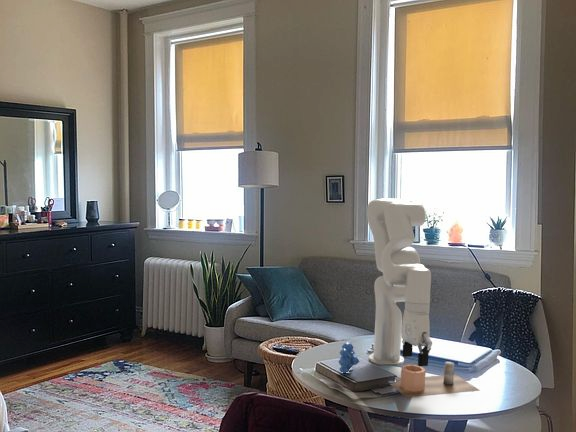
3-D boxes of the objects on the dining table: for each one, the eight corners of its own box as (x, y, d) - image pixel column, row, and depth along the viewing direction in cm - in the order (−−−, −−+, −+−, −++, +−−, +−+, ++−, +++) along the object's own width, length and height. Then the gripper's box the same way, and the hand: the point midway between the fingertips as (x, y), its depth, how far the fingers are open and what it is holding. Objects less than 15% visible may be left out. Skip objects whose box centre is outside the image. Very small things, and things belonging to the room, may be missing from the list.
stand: (385, 384, 191) (386, 360, 190) (454, 378, 198) (456, 354, 198) (406, 402, 177) (407, 375, 177) (479, 394, 185) (481, 369, 184)
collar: (397, 383, 188) (398, 365, 187) (416, 382, 190) (417, 364, 189) (408, 392, 181) (409, 373, 181) (428, 390, 183) (429, 371, 183)
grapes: (354, 384, 190) (355, 348, 189) (334, 381, 192) (335, 345, 191) (362, 372, 201) (364, 338, 200) (343, 369, 203) (345, 336, 202)
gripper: (393, 301, 190) (391, 353, 191) (420, 314, 174) (418, 370, 175) (414, 301, 192) (411, 352, 193) (442, 313, 176) (440, 368, 177)
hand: (414, 360), depth 184 cm, fingers open, 9 cm apart
